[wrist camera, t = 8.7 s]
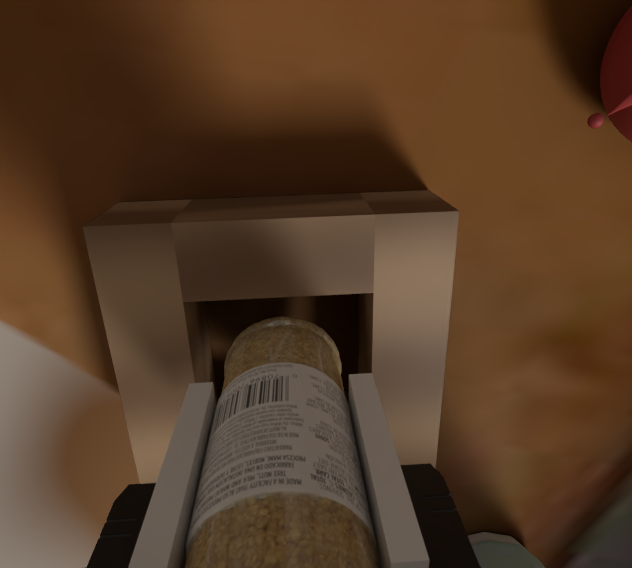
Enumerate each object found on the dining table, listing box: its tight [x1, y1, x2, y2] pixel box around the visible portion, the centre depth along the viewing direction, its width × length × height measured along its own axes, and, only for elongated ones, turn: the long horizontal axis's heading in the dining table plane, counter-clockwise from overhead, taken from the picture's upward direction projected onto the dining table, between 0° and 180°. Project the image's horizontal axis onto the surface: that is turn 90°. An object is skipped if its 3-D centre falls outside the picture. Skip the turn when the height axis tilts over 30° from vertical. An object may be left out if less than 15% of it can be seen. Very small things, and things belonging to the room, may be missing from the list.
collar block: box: [82, 190, 459, 484], centre depth 19 cm, size 12×12×4 cm
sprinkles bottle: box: [185, 316, 379, 568], centre depth 12 cm, size 5×5×13 cm
